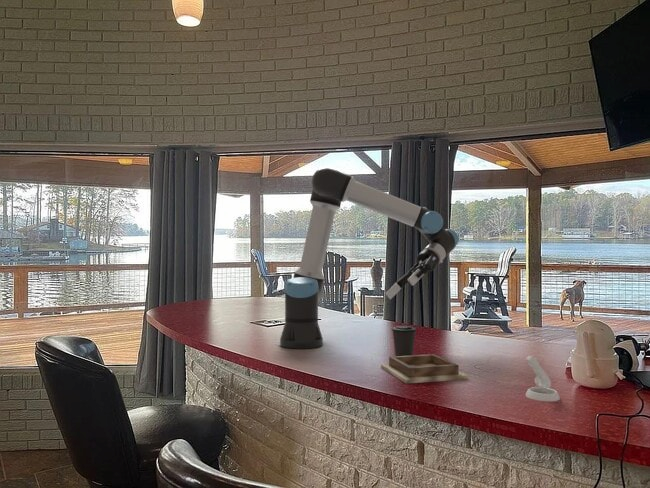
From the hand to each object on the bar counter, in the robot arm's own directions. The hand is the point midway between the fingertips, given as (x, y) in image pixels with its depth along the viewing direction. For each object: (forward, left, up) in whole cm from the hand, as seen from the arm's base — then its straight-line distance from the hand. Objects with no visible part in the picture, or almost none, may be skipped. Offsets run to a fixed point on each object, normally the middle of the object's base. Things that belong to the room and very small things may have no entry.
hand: (398, 289), depth 184 cm
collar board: (-6, -31, -21) cm, 37 cm away
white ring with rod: (+12, -59, -21) cm, 64 cm away
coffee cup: (-3, -11, -21) cm, 24 cm away
